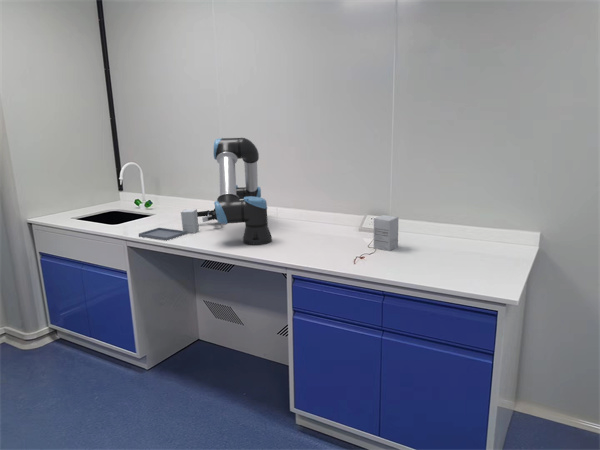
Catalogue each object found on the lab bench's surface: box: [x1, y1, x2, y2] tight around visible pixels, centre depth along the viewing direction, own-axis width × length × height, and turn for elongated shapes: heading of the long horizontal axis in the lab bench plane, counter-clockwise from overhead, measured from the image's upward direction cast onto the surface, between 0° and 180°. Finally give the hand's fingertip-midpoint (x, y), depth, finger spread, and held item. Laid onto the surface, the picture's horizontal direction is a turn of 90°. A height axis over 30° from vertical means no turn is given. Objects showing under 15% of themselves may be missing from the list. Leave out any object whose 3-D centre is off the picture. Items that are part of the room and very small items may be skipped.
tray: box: [138, 227, 188, 242], centre depth 241 cm, size 22×15×2 cm
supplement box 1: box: [180, 208, 200, 234], centre depth 246 cm, size 7×7×13 cm
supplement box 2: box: [373, 214, 399, 252], centre depth 204 cm, size 9×9×15 cm
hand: (195, 218), depth 249 cm, fingers open, 13 cm apart
